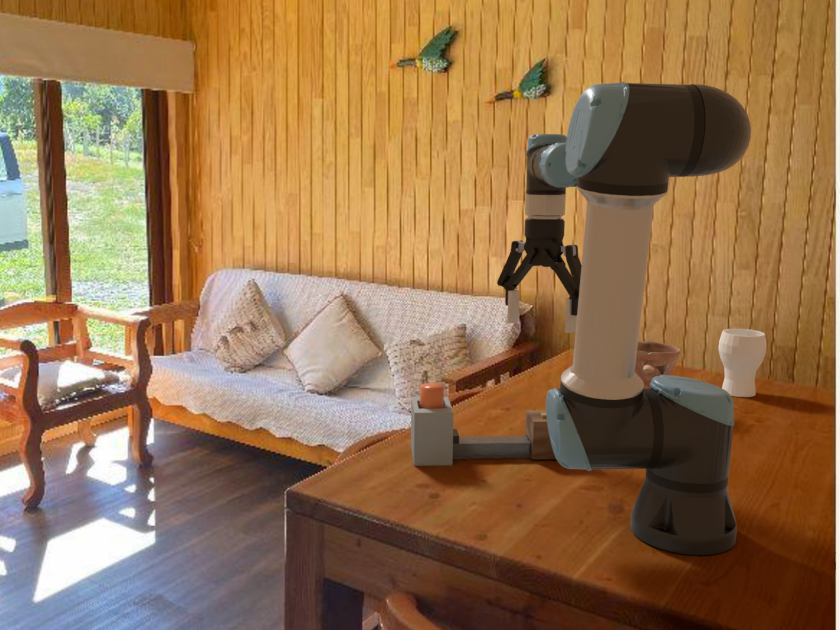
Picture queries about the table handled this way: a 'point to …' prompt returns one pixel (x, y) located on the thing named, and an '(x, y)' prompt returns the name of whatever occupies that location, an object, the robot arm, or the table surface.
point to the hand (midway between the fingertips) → (540, 327)
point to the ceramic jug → (655, 360)
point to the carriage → (538, 434)
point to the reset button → (431, 396)
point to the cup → (741, 359)
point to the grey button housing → (431, 434)
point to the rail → (490, 447)
